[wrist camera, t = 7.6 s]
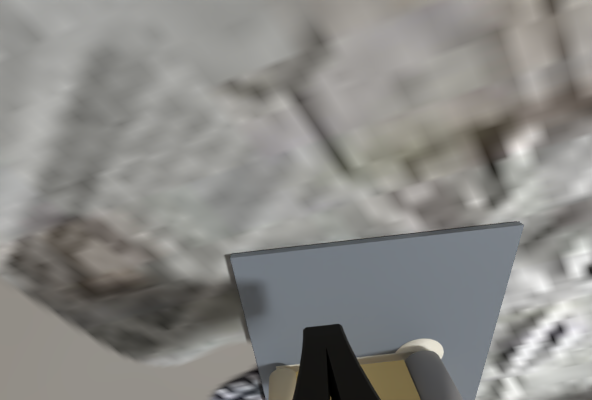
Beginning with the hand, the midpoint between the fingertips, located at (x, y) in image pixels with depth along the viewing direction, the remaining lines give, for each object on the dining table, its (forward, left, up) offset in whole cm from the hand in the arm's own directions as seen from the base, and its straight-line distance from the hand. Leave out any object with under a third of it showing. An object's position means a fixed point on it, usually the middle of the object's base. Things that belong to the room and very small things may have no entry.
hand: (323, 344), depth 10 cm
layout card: (-5, -3, -3) cm, 7 cm away
